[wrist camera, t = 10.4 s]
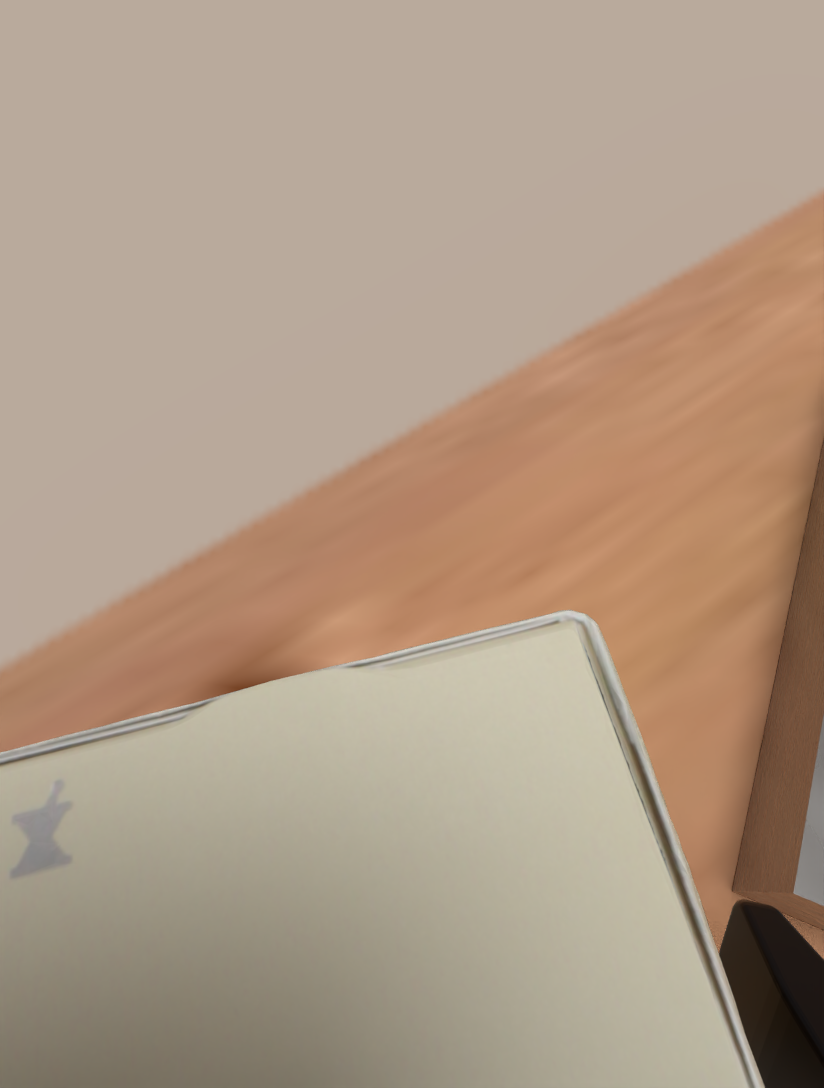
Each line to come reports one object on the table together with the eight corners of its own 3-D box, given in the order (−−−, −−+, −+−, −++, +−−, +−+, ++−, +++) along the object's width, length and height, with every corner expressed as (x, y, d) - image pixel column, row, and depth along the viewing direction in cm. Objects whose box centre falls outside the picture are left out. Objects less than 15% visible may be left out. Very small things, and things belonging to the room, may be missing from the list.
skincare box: (299, 1043, 15) (-158, 1468, 4) (272, 838, 17) (-86, 762, 6) (576, 968, 15) (827, 1186, 4) (517, 773, 17) (592, 588, 6)
